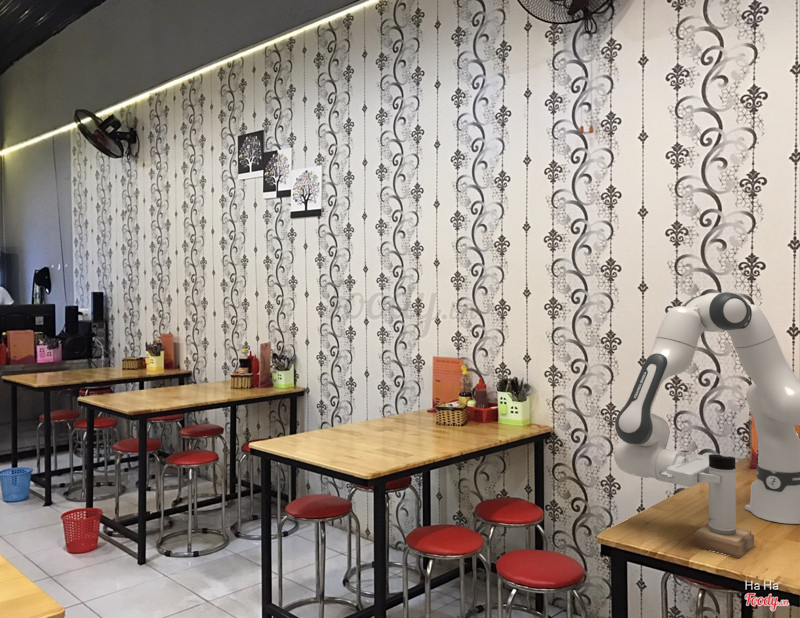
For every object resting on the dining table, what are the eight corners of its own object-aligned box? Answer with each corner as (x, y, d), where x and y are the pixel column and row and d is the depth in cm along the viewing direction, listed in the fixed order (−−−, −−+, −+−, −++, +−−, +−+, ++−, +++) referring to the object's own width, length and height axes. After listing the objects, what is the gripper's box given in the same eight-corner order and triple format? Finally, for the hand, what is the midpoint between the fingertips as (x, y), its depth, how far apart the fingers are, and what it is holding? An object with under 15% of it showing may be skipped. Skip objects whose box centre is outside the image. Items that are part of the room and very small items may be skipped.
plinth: (709, 535, 176) (709, 520, 176) (753, 546, 168) (753, 530, 168) (693, 546, 168) (693, 531, 168) (738, 558, 160) (738, 542, 160)
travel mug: (704, 531, 168) (704, 454, 167) (713, 524, 172) (713, 450, 172) (731, 537, 163) (730, 458, 163) (739, 530, 168) (738, 453, 168)
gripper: (655, 462, 170) (710, 472, 160) (688, 449, 184) (740, 457, 174) (655, 486, 170) (710, 497, 160) (688, 471, 184) (740, 481, 174)
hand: (726, 476), depth 167 cm, fingers closed on travel mug, 6 cm apart
